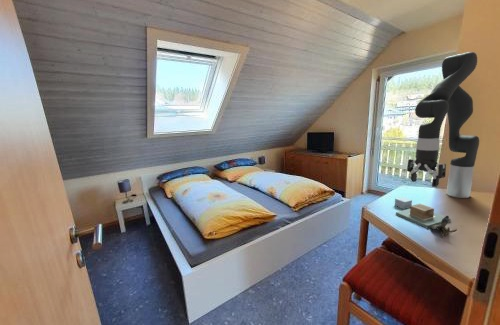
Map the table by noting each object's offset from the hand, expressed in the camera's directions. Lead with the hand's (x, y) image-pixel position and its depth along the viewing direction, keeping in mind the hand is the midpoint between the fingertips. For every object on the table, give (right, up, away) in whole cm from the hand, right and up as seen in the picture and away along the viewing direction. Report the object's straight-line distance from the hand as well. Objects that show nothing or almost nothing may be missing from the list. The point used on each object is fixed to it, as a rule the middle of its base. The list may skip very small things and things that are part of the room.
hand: (423, 183), depth 96 cm
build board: (+1, -16, +2) cm, 16 cm away
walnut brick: (0, -14, +1) cm, 15 cm away
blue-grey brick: (+1, -13, +14) cm, 20 cm away
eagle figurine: (-1, -19, -10) cm, 22 cm away
